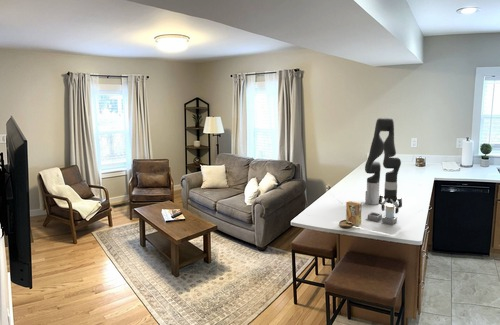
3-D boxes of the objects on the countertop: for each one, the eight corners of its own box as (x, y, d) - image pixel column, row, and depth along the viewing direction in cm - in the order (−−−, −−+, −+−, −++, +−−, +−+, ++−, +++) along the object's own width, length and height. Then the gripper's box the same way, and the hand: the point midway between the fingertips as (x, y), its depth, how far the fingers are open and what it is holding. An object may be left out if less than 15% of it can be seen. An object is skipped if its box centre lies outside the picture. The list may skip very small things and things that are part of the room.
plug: (385, 222, 227) (385, 205, 225) (387, 220, 229) (388, 204, 228) (391, 223, 224) (392, 207, 222) (393, 221, 227) (394, 205, 225)
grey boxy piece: (365, 221, 232) (365, 215, 231) (372, 216, 241) (372, 211, 240) (392, 227, 220) (392, 221, 219) (399, 222, 228) (399, 216, 228)
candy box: (361, 225, 225) (361, 202, 222) (358, 227, 222) (359, 204, 219) (348, 222, 230) (348, 200, 228) (345, 224, 227) (346, 202, 225)
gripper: (377, 187, 225) (376, 211, 228) (400, 190, 215) (398, 215, 218) (382, 185, 230) (381, 208, 233) (404, 188, 221) (403, 212, 224)
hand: (389, 211), depth 226 cm, fingers open, 8 cm apart
